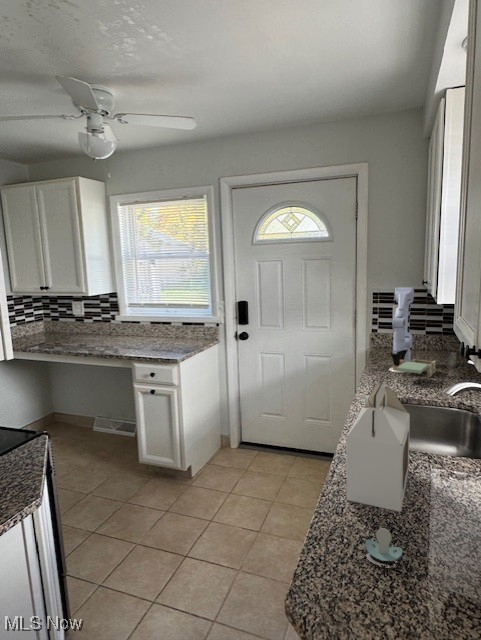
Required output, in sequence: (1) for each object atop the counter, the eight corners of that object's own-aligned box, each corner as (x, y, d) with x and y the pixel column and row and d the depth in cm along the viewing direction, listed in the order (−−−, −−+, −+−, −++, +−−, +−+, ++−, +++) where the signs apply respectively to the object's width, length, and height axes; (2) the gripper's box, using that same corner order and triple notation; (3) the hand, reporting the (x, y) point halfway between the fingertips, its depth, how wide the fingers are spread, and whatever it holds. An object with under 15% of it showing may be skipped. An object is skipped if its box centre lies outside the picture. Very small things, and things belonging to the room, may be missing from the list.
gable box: (362, 462, 125) (362, 373, 121) (408, 470, 119) (410, 377, 115) (346, 500, 106) (345, 396, 102) (400, 513, 100) (402, 402, 96)
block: (396, 367, 226) (396, 359, 225) (405, 369, 223) (405, 360, 222) (392, 370, 222) (393, 361, 221) (402, 371, 219) (402, 362, 218)
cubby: (414, 369, 224) (414, 358, 223) (435, 371, 217) (436, 360, 217) (406, 374, 214) (406, 363, 213) (429, 377, 207) (429, 366, 206)
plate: (392, 367, 230) (392, 366, 229) (411, 369, 223) (411, 368, 223) (386, 371, 222) (386, 370, 222) (405, 374, 216) (405, 372, 215)
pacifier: (399, 576, 80) (403, 555, 86) (400, 547, 79) (403, 528, 85) (361, 564, 84) (367, 545, 89) (361, 537, 83) (367, 519, 88)
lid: (405, 364, 212) (405, 361, 212) (428, 366, 205) (428, 364, 205) (397, 370, 201) (397, 367, 201) (420, 373, 194) (420, 370, 194)
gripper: (402, 342, 212) (402, 368, 214) (411, 338, 223) (410, 362, 225) (388, 341, 216) (388, 366, 218) (397, 337, 228) (397, 360, 230)
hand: (398, 364), depth 222 cm, fingers open, 7 cm apart
